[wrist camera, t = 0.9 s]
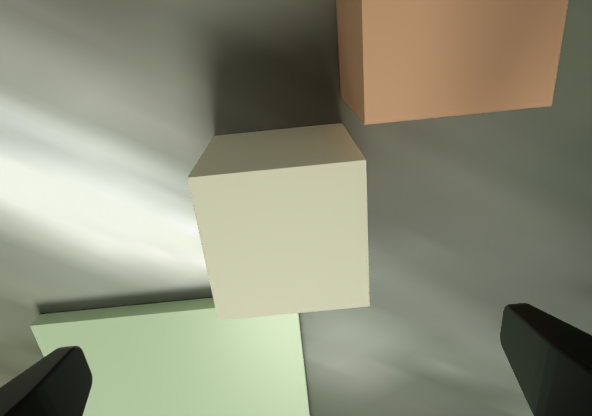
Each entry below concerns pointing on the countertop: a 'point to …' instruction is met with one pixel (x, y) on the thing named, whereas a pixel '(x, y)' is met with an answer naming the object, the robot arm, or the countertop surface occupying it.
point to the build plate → (183, 360)
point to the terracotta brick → (447, 56)
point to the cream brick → (283, 221)
